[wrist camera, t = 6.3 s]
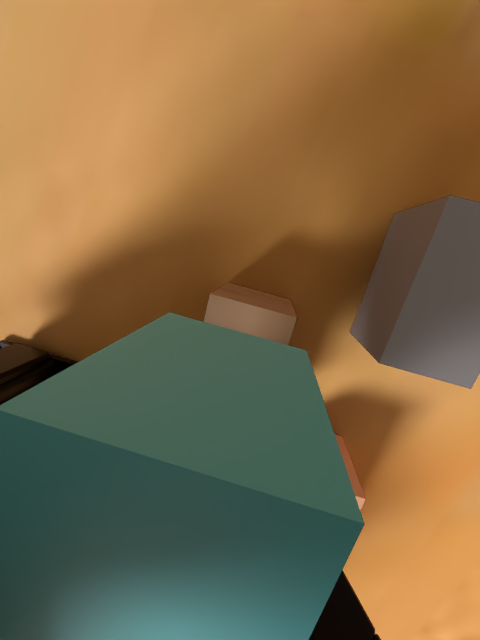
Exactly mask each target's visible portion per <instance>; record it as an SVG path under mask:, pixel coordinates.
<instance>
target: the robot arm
mask: <svg viewBox="0 0 480 640" xmlns="http://www.w3.org/2000/svg"><path fill="white" fill-rule="evenodd" d="M76 363H77V362H75V361H72V360H69V359H65V358H62V357H59V356H55V355H52V354H50V353H48V352H46V351H42V350H39V349H36V348H32V347H29V346H26V345H22V344H19V343H12V342H9V341H5V340H1V341H0V405H2V404H3V403H5V402H7V401H9V400H11V399H12V398H14V397H16V396H18V395H20V394H22V393H23V392H25V391H27V390H29V389H31V388H32V387H34V386H36V385H38V384H40V383H41V382H43V381H45V380H47V379H49V378H51V377H52V376H54V375H56V374H58V373H60V372H61V371H63V370H65V369H67V368H69V367H70V366H72V365H74V364H76ZM309 640H381V639H380V637H379V635H378V634H375V628H374V626H373V625H372V623H371V621H370V619H369V617H368V616H367V614H366V612H365V610H364V608H363V606H362V605H361V603H360V601H359V599H358V597H357V595H356V594H355V592H354V590H353V588H352V586H351V585H350V583H349V581H348V579H347V577H346V575H345V574H344V572H343V570H342V571H341V574H340V576H339V578H338V580H337V582H336V584H335V586H334V588H333V590H332V592H331V594H330V596H329V598H328V600H327V602H326V605H325V607H324V609H323V611H322V613H321V615H320V617H319V619H318V621H317V623H316V625H315V627H314V629H313V631H312V633H311V636H310V638H309Z"/></svg>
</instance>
